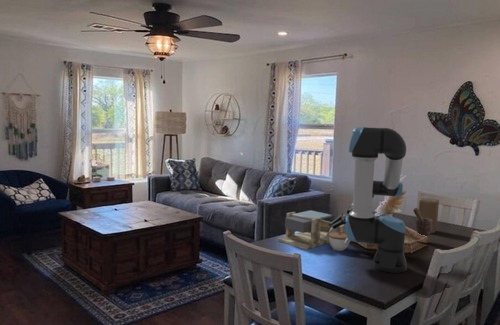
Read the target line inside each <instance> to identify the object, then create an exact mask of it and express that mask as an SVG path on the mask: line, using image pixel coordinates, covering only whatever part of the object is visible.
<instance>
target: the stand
mask: <svg viewBox="0 0 500 325" xmlns="http://www.w3.org/2000/svg"><path fill="white" fill-rule="evenodd" d="M292 213H293V214H296V211H291V212H287V213H286V216H285V218H288V217H292ZM331 222H332V221H328V220H325V219H321V218H315V219H312V224H311V231H309V232H305V233H301V232H298V233H296V231H294V230H291V229H287V228H285V236H282V237H281V236H280V237H278V238H277V241H278V242H281V243H282V244H283V243H284V244H285V245H286V244H287V245H290V246H293V247H295V248H298V249H302V250H305V251H307V250H311V249H313V248H317V247H319V246H324V245H325V244H330V242H329V240H327V238H326V237H325V236H326V235H327V233H328V230H329V229H330V226H329V224H330V223H331ZM334 230H335V231H334V232H342V233H346V224H343V225H341V226H339V227H337V228H336V229H334Z"/></svg>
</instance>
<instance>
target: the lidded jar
mask: <svg viewBox="0 0 500 325" xmlns="http://www.w3.org/2000/svg"><path fill="white" fill-rule="evenodd" d="M346 239H347V235H346V232H345V233H342V232H332V233H330V234H329V242H330V243H329V246H330V247H331V248H332V249H333V250H334V251H339V252H343V251H345V249H347V248H348V246H346V245H345V244H344V242H345V240H346Z"/></svg>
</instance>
